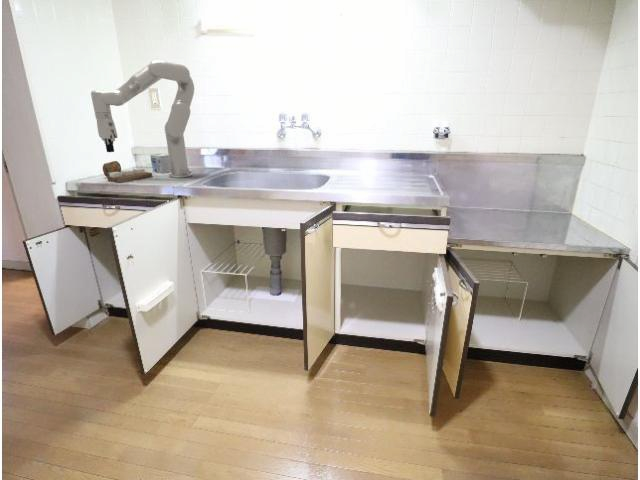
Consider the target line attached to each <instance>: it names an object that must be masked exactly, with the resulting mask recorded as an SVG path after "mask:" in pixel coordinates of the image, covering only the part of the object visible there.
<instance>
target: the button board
mask: <svg viewBox="0 0 640 480" xmlns="http://www.w3.org/2000/svg"><path fill="white" fill-rule="evenodd" d="M106 178H107V182H110V181H111V182H110V183H116V182H117V184H121V183H127V182H133V181H134V182H135V181H139V180H144V179H149V178H150V179H151V178H153V173H152V172H147V171H145V172H144V173H134V174H132V175H122V176H120V177H110V176H108V177H106Z"/></svg>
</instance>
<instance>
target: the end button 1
mask: <svg viewBox="0 0 640 480" xmlns="http://www.w3.org/2000/svg"><path fill="white" fill-rule="evenodd" d="M109 175H110V177H120V176H122V173H121V172H112V173H109Z"/></svg>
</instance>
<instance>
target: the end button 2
mask: <svg viewBox="0 0 640 480" xmlns="http://www.w3.org/2000/svg"><path fill="white" fill-rule="evenodd" d="M132 171H133V173H144V172H146V171H145V168H142V167H141V168H140V167H138V168H133V169H132Z"/></svg>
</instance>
